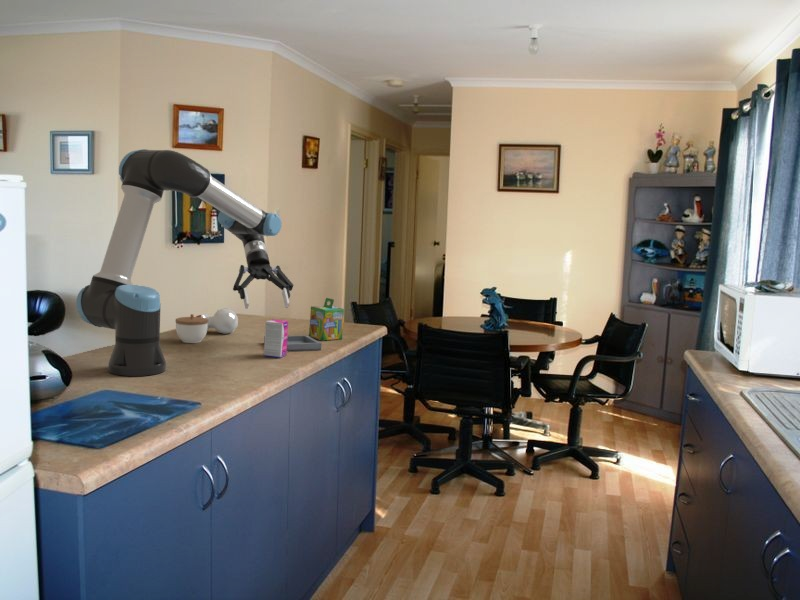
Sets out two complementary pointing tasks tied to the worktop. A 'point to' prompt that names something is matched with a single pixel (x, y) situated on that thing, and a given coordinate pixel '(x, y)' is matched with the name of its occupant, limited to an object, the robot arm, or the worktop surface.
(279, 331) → the supplement box
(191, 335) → the lidded jar
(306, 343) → the tray
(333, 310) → the chalk box
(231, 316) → the potion bottle
